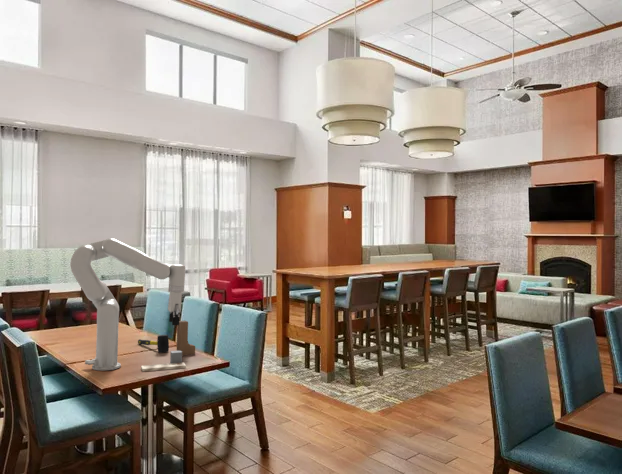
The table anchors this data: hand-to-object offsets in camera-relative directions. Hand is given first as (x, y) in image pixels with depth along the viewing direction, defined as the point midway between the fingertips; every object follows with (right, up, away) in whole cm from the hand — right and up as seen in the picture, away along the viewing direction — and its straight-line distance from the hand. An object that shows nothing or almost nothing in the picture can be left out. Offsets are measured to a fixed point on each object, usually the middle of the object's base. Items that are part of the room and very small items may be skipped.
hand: (173, 323), depth 242 cm
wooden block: (+1, -20, +20) cm, 28 cm away
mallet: (-21, -20, +31) cm, 43 cm away
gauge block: (+1, -20, 0) cm, 20 cm away
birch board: (-2, -20, -9) cm, 22 cm away
